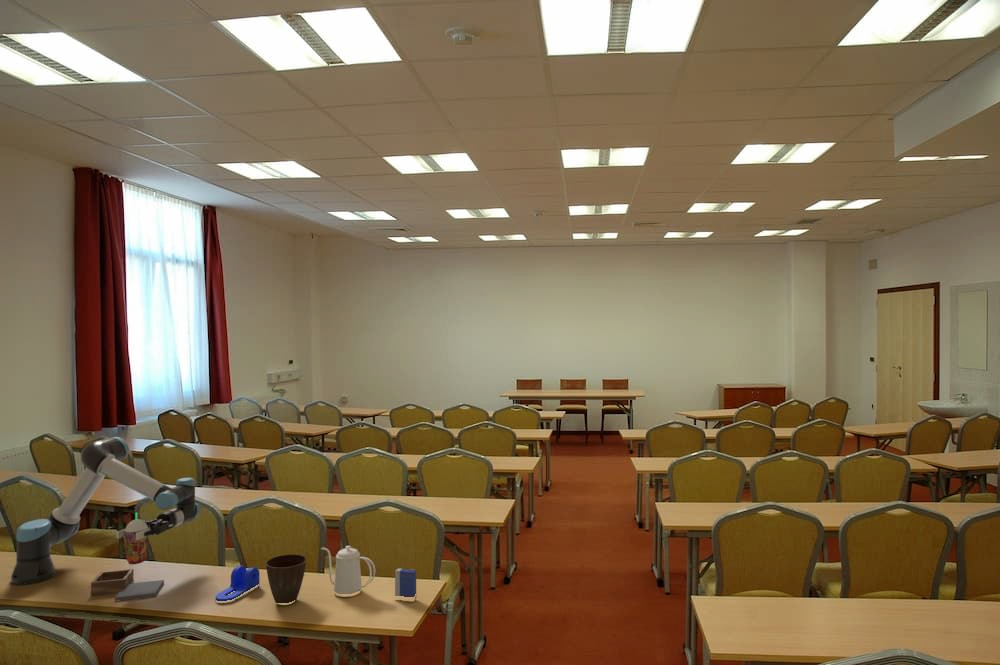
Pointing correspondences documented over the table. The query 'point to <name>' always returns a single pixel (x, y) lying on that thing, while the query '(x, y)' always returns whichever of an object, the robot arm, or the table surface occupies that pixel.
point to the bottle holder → (111, 581)
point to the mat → (140, 590)
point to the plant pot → (286, 576)
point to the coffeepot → (348, 571)
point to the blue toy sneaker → (240, 583)
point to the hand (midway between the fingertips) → (127, 536)
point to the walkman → (405, 582)
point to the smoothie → (135, 541)
